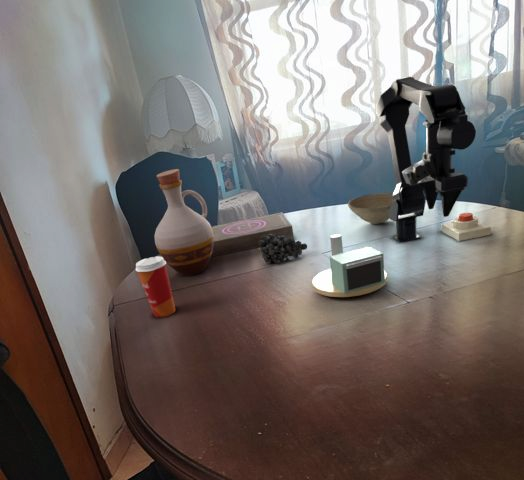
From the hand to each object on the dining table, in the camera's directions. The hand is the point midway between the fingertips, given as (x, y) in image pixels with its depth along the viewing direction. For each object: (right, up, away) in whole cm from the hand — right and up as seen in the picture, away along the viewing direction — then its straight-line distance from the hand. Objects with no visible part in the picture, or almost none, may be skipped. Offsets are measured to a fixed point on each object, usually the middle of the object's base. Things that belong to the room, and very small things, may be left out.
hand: (438, 212), depth 117 cm
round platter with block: (-23, -18, -4) cm, 30 cm away
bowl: (-6, +8, +41) cm, 42 cm away
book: (-50, +4, +49) cm, 70 cm away
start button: (+13, +2, +14) cm, 20 cm away
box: (+14, -1, +16) cm, 21 cm away
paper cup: (-70, -25, +2) cm, 74 cm away
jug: (-66, -10, +30) cm, 73 cm away
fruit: (-38, -8, +23) cm, 45 cm away
